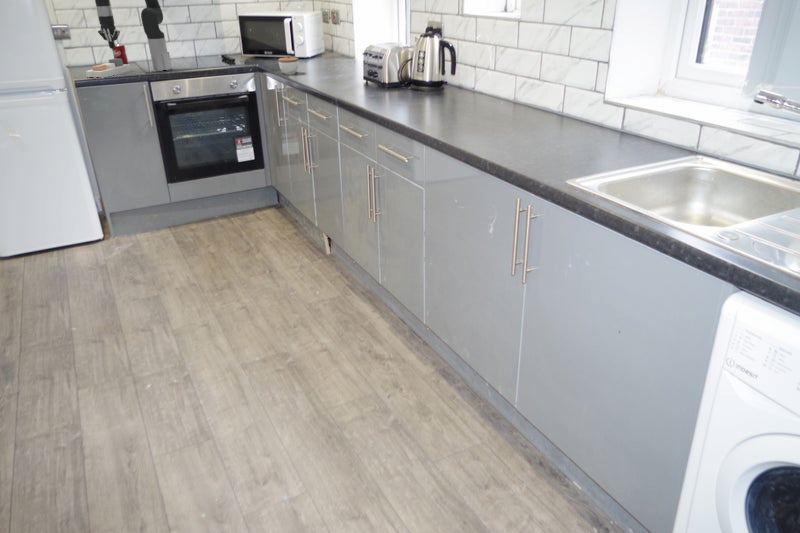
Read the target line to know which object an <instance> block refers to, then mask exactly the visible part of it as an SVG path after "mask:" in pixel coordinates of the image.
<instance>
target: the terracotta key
mask: <svg viewBox="0 0 800 533" xmlns="http://www.w3.org/2000/svg"><path fill="white" fill-rule="evenodd" d="M91 68H92V69H91V70H93V71H103V70H107V67H106V65H101V64H96V65H92V66H91Z"/></svg>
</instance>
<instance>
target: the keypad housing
mask: <svg viewBox="0 0 800 533" xmlns="http://www.w3.org/2000/svg"><path fill="white" fill-rule="evenodd" d="M128 72H132V68H131V64H123V66H119V67H115V68H111V69H107V70H103V71H93V69H90V70H89V69H88V70H86V71H85V74H86V78H87V77H107V78H109V77H108V76H110V77H114V76H117V74H118V75H121V74H125V73H128ZM113 75H114V76H113Z"/></svg>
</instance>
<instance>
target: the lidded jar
mask: <svg viewBox="0 0 800 533" xmlns="http://www.w3.org/2000/svg"><path fill="white" fill-rule="evenodd" d="M277 61H278V66H279V70H280V71H281V72H282V73H283V75H286V76H287V75H296V73H297V72H298V69H299V58H298V57H292V56H291V57H290V55H287V56H286V57H280V58H278V60H277Z"/></svg>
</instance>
